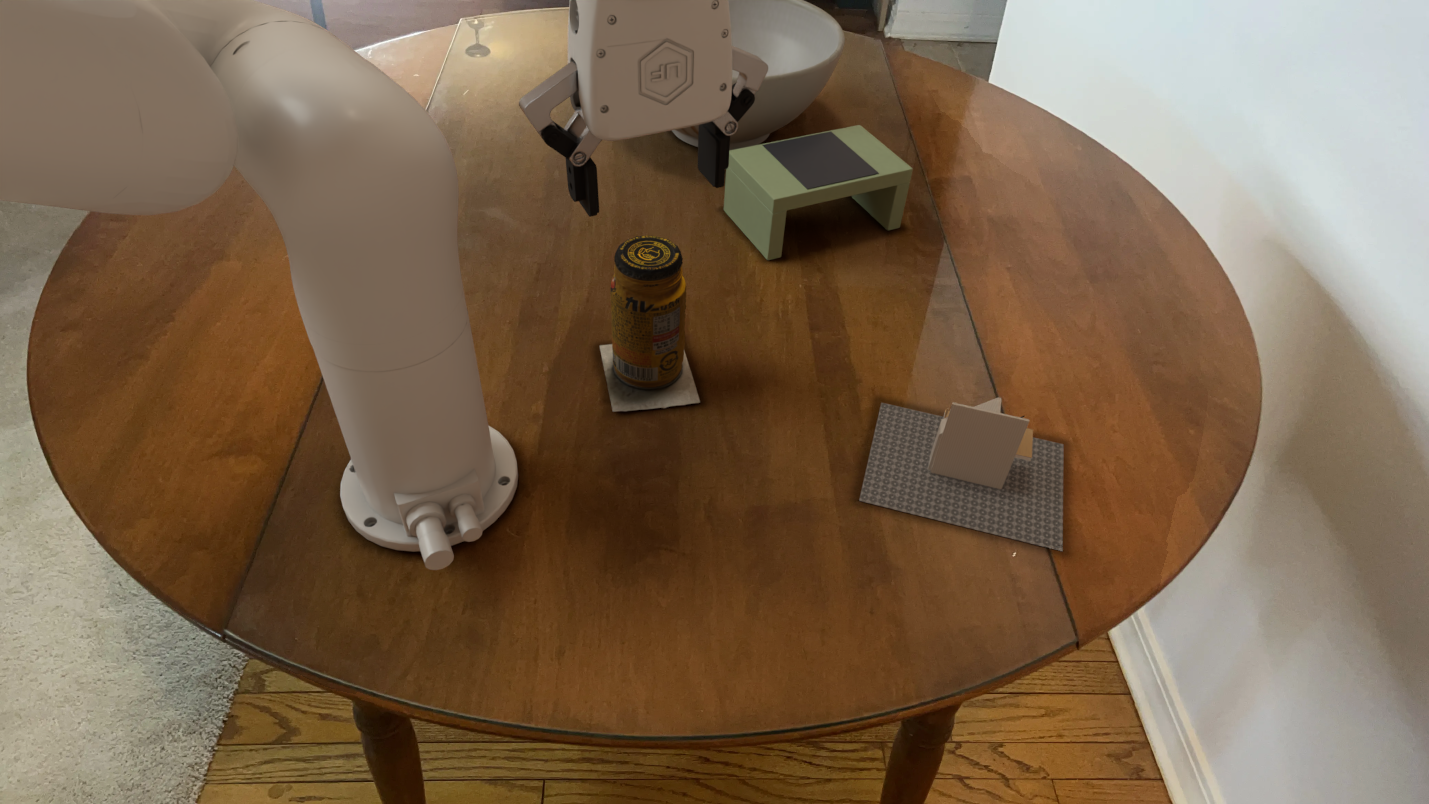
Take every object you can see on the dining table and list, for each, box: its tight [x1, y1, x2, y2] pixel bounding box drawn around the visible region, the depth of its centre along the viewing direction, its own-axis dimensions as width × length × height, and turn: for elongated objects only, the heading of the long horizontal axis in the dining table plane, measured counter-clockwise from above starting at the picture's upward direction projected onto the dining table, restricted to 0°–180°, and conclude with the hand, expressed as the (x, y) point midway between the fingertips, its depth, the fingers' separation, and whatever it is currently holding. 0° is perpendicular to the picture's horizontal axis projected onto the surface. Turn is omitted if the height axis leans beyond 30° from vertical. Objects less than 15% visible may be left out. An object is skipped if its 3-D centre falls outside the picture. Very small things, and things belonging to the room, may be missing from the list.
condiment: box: [599, 234, 701, 413], centre depth 73 cm, size 7×8×12 cm
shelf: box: [723, 124, 914, 261], centre depth 93 cm, size 10×16×7 cm, turn 116°
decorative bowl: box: [671, 0, 846, 151], centre depth 106 cm, size 27×27×12 cm
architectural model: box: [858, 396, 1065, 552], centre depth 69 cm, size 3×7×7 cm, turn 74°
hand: (650, 192), depth 65 cm, fingers open, 9 cm apart
